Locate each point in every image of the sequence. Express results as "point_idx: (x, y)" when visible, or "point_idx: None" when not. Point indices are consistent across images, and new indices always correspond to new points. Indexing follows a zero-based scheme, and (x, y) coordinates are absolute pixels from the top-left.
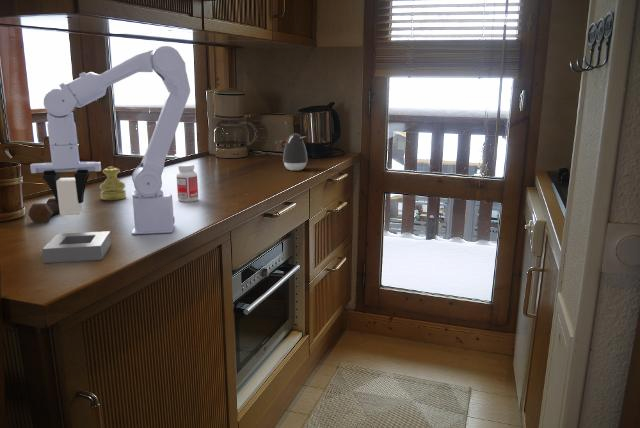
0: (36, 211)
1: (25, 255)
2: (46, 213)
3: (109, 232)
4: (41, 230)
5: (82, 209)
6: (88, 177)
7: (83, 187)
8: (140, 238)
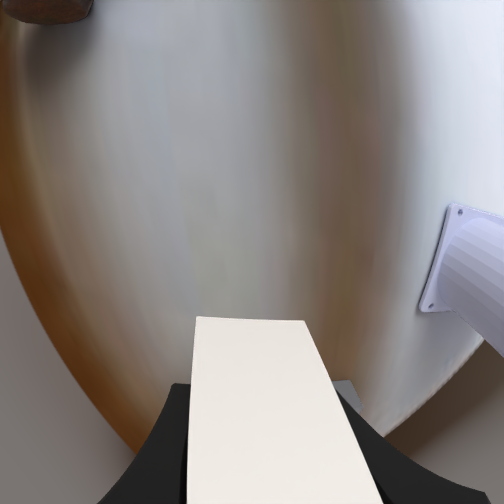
0: (30, 7)
1: (139, 416)
2: (71, 5)
3: (359, 411)
4: (78, 148)
5: (305, 324)
6: (454, 484)
7: (376, 455)
8: (423, 339)
